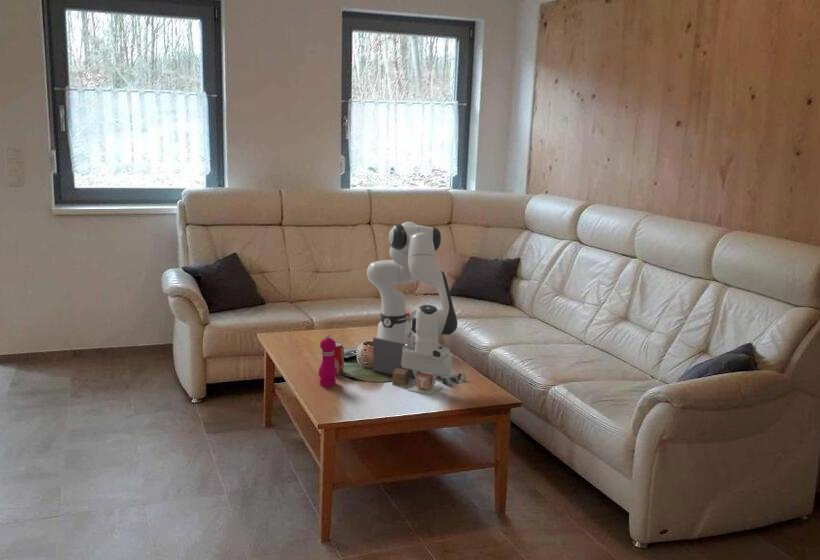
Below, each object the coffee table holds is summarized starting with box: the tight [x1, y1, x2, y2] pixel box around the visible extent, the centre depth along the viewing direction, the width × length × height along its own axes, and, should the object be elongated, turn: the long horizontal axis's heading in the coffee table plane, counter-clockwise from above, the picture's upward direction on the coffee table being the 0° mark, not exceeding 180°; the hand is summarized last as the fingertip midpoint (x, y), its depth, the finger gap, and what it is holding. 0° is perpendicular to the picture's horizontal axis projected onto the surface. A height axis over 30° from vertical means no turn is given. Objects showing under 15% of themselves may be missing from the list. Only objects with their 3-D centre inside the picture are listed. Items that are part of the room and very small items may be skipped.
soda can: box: [333, 341, 345, 375], centre depth 313 cm, size 7×7×12 cm
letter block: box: [415, 372, 435, 390], centre depth 297 cm, size 5×5×5 cm
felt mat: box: [407, 384, 443, 396], centre depth 298 cm, size 10×10×1 cm
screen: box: [371, 336, 415, 380], centre depth 313 cm, size 4×20×14 cm, turn 63°
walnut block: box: [391, 369, 409, 387], centre depth 303 cm, size 5×5×5 cm
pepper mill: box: [317, 334, 338, 387], centre depth 298 cm, size 7×7×20 cm
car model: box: [418, 371, 467, 387], centre depth 313 cm, size 11×24×5 cm, turn 43°
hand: (425, 382), depth 297 cm, fingers closed on letter block, 5 cm apart
